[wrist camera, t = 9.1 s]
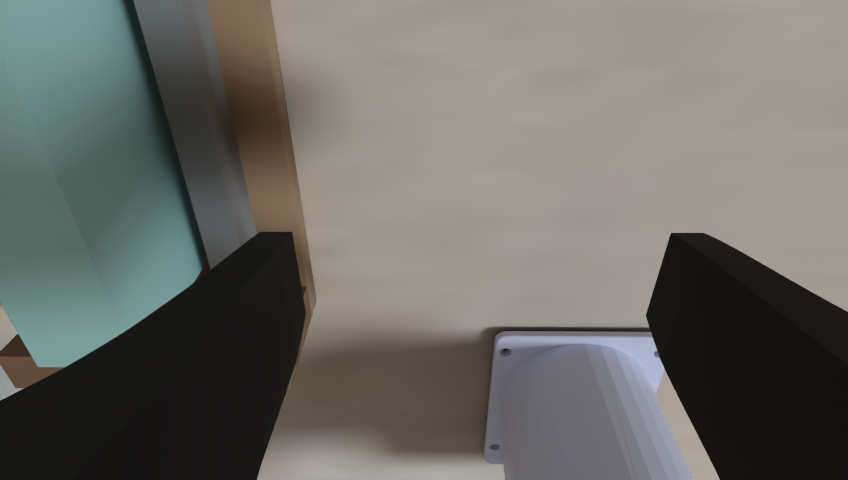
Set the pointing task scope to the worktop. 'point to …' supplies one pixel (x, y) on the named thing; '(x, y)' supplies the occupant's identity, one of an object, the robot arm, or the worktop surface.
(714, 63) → the worktop surface
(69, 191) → the long teal rectangular block
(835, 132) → the worktop surface
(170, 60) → the track board
